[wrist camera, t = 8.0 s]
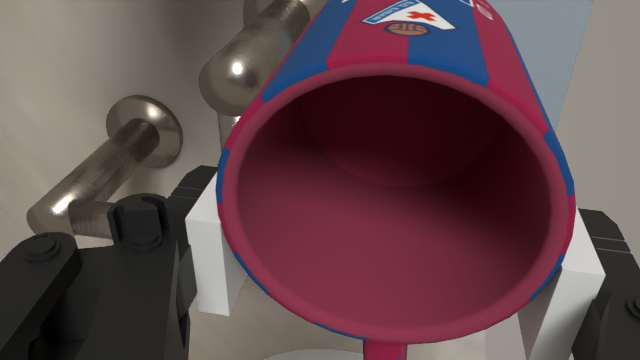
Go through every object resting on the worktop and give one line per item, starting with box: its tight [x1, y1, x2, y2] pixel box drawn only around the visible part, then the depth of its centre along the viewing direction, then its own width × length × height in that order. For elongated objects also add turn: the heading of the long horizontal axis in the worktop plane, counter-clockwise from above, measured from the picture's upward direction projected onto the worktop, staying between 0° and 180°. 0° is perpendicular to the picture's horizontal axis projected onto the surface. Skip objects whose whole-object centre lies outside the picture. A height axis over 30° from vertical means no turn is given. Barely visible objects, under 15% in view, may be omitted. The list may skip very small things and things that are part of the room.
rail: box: [27, 0, 330, 239], centre depth 26 cm, size 13×15×10 cm
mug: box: [215, 0, 576, 360], centre depth 13 cm, size 7×10×7 cm
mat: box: [486, 0, 593, 132], centre depth 26 cm, size 12×12×1 cm
